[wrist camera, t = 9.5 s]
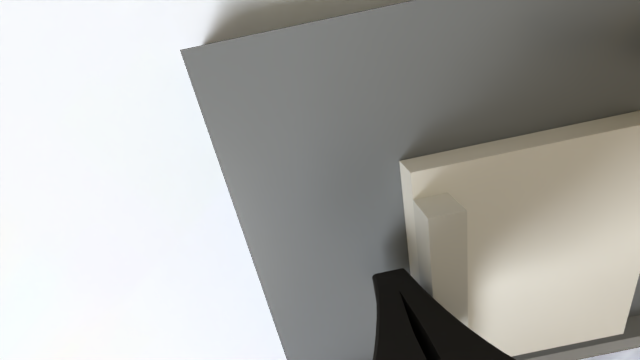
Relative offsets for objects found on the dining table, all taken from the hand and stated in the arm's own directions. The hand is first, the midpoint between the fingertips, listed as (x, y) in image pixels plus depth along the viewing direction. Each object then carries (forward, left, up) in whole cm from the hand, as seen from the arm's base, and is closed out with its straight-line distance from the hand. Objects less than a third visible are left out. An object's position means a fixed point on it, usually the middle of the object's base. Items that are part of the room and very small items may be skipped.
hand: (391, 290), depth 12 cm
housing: (+1, -5, -3) cm, 6 cm away
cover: (0, -6, -1) cm, 6 cm away
